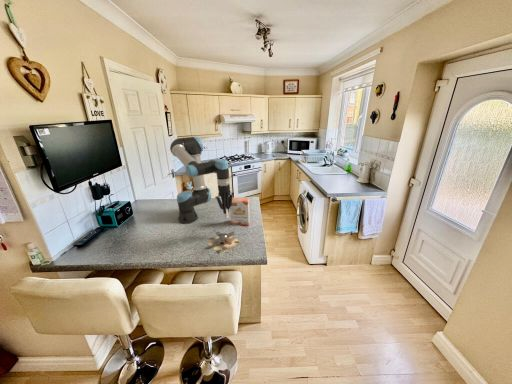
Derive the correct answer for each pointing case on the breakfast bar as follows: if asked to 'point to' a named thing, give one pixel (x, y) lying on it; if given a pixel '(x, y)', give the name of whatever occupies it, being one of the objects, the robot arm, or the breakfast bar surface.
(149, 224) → the breakfast bar surface
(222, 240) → the capstan
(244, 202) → the cracker box
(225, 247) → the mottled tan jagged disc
